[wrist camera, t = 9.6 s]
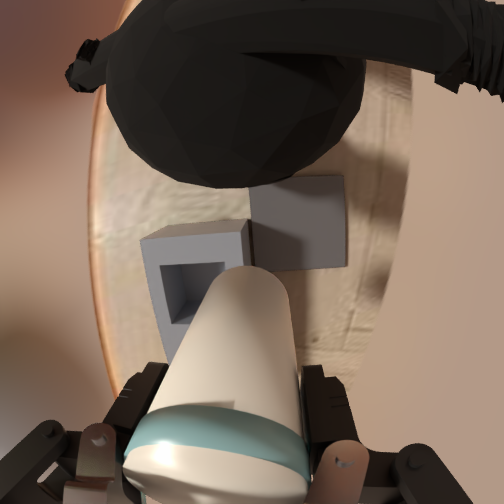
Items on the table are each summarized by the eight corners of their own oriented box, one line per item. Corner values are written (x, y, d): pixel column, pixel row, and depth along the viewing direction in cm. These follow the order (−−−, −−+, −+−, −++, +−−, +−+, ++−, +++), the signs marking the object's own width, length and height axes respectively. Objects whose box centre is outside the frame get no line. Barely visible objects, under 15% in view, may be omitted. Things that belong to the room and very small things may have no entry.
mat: (248, 180, 31) (248, 180, 30) (342, 175, 30) (343, 175, 29) (256, 270, 34) (255, 272, 33) (343, 265, 33) (345, 266, 32)
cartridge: (199, 265, 16) (86, 432, 4) (290, 262, 15) (326, 460, 4) (210, 340, 17) (154, 508, 6) (290, 338, 17) (303, 521, 5)
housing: (167, 225, 33) (139, 239, 25) (247, 218, 32) (240, 231, 24) (192, 358, 38) (178, 394, 30) (259, 358, 37) (256, 397, 29)
